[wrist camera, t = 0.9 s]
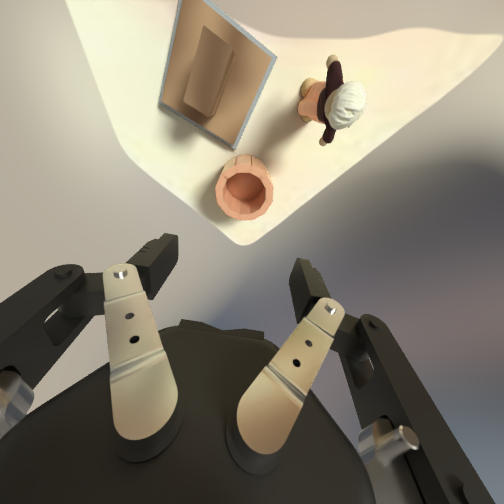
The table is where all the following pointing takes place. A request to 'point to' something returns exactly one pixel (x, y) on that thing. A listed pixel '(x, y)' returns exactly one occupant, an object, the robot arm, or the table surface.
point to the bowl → (244, 188)
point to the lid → (213, 71)
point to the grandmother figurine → (332, 101)
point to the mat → (274, 57)
